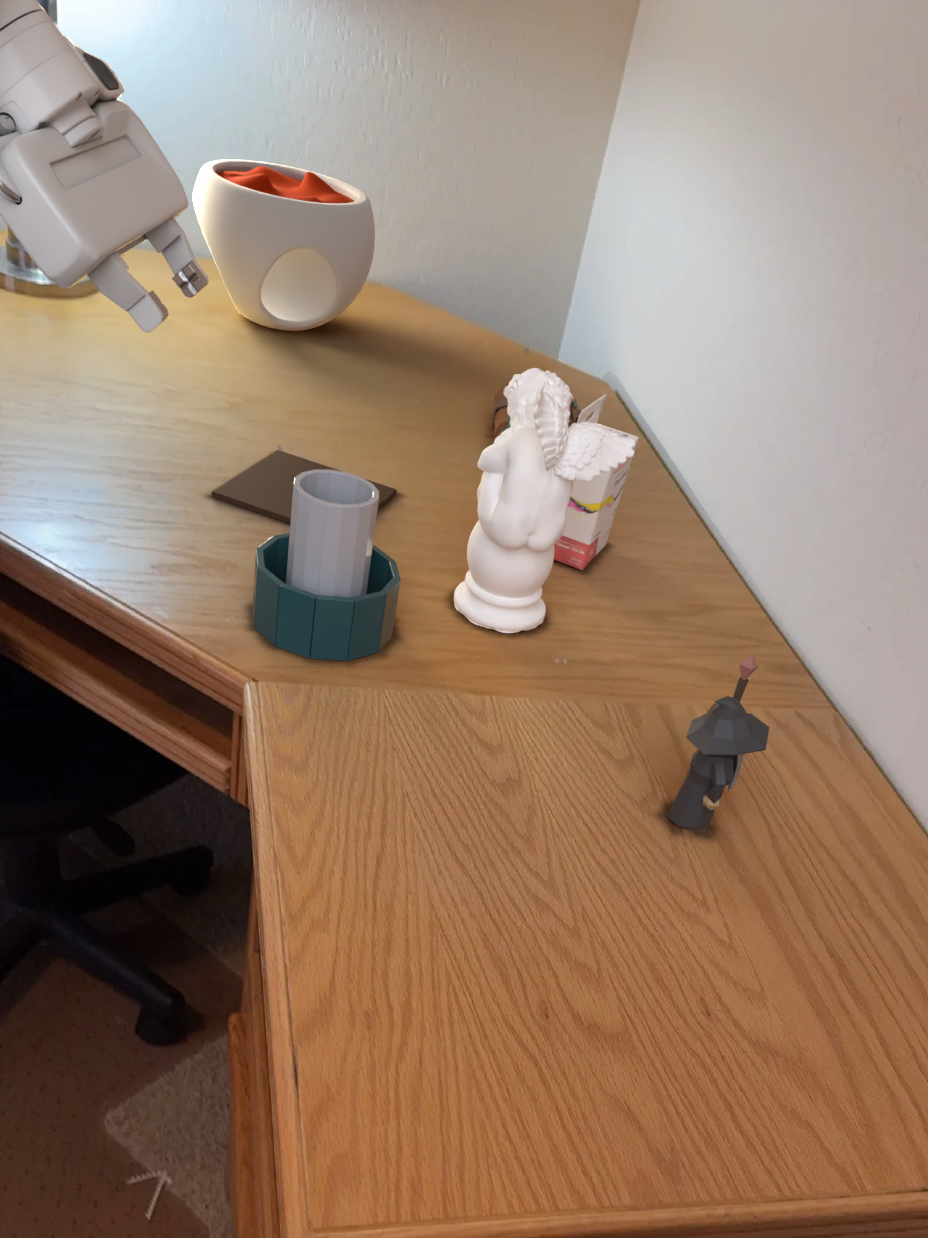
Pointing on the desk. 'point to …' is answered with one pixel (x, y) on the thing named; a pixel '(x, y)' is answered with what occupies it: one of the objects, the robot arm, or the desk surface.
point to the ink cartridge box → (592, 505)
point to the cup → (331, 533)
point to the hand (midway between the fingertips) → (180, 307)
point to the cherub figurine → (529, 500)
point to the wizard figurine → (717, 755)
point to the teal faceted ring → (323, 608)
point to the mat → (276, 485)
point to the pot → (285, 240)
